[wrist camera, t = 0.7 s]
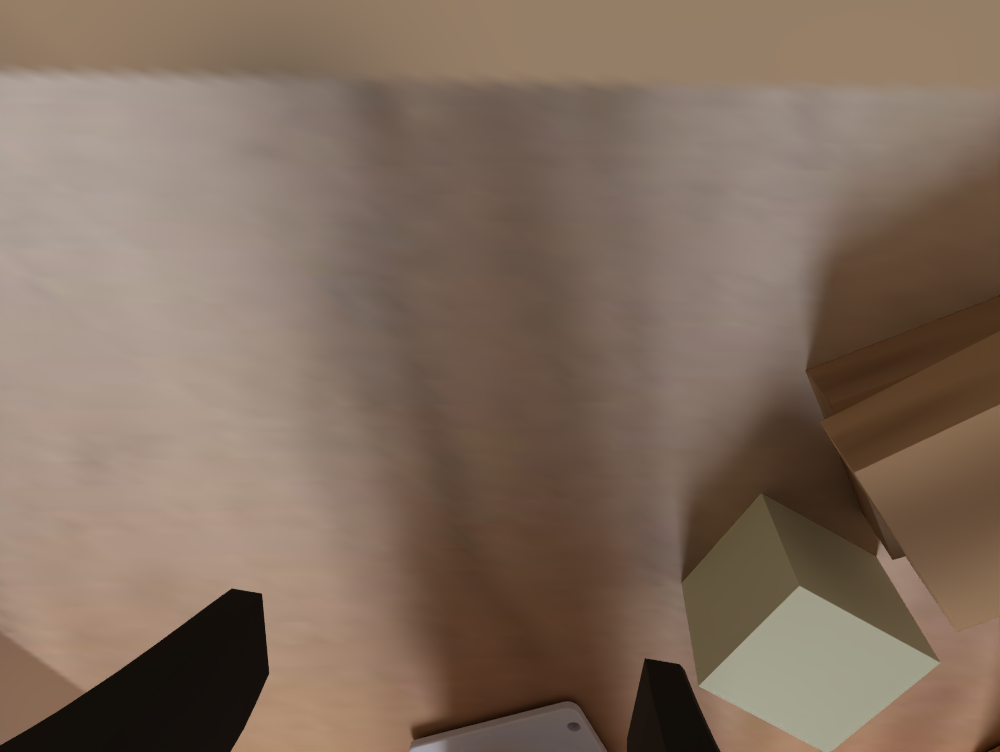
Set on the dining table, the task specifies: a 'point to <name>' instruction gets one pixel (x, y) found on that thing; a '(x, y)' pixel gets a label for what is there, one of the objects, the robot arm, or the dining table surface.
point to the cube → (801, 627)
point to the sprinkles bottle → (997, 751)
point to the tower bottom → (897, 376)
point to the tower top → (937, 474)
